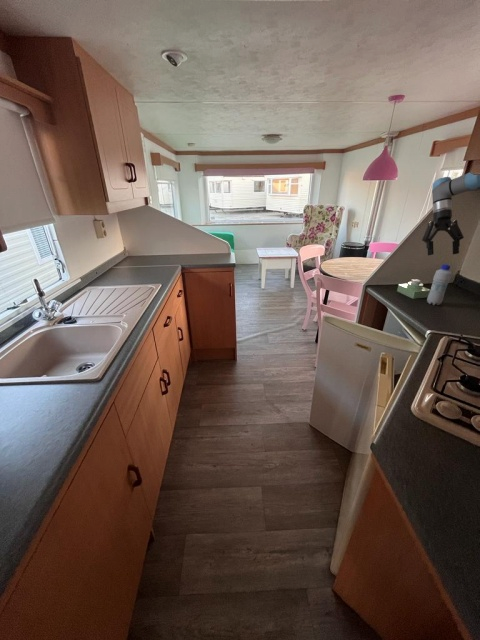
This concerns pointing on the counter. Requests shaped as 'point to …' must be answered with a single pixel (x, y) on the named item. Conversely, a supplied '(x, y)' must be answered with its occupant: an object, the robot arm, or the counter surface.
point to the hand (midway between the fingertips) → (443, 254)
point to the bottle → (439, 285)
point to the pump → (416, 282)
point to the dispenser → (413, 290)
